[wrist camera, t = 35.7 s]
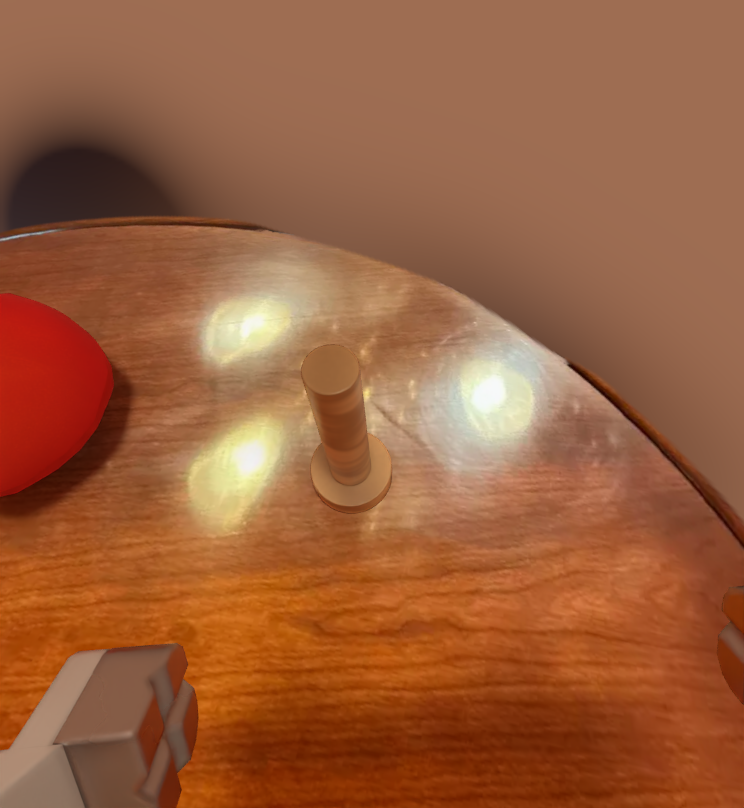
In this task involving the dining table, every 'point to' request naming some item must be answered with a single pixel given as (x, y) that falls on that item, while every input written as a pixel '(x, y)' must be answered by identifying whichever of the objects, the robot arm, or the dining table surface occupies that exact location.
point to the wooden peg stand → (343, 433)
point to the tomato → (46, 390)
